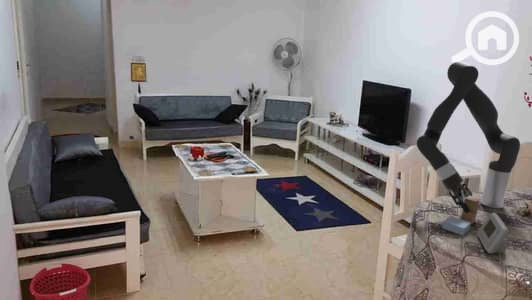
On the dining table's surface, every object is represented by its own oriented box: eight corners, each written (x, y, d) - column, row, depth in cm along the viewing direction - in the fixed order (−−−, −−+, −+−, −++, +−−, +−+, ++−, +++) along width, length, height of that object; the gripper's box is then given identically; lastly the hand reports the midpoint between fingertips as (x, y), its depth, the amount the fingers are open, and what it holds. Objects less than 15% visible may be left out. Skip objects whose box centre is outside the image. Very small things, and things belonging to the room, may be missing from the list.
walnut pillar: (463, 217, 183) (468, 195, 180) (474, 221, 180) (480, 199, 177) (460, 220, 179) (465, 198, 177) (471, 224, 177) (476, 201, 174)
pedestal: (449, 222, 177) (450, 215, 176) (469, 229, 172) (470, 222, 171) (442, 228, 171) (443, 221, 170) (463, 235, 166) (464, 228, 165)
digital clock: (476, 234, 168) (482, 209, 165) (502, 240, 165) (508, 214, 162) (477, 252, 154) (483, 225, 151) (505, 259, 150) (512, 231, 147)
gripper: (450, 175, 174) (474, 210, 170) (461, 168, 185) (484, 201, 181) (435, 183, 179) (458, 218, 175) (447, 176, 189) (468, 209, 185)
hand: (471, 209), depth 178 cm, fingers open, 8 cm apart
